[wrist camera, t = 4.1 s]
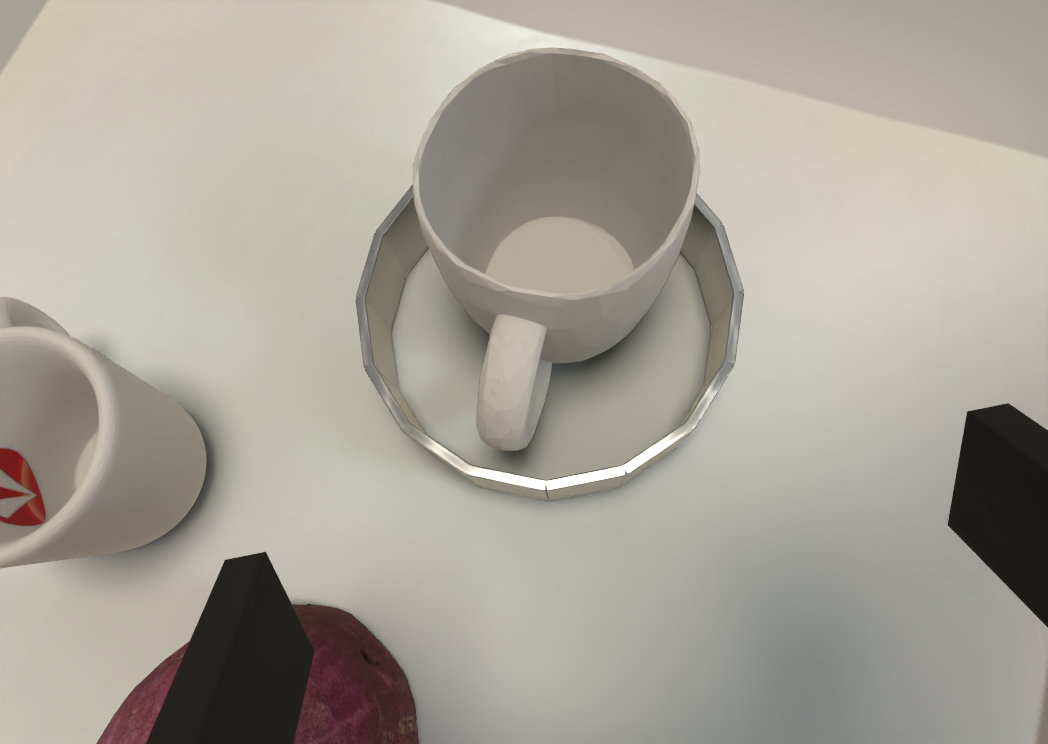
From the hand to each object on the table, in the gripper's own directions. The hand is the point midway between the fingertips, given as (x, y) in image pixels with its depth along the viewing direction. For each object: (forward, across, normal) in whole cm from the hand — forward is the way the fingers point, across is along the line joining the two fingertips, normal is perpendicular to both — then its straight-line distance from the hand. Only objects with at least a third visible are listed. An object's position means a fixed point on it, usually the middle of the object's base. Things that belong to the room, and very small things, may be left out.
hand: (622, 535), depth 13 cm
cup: (+16, -19, -5) cm, 25 cm away
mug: (+17, 0, -4) cm, 18 cm away
